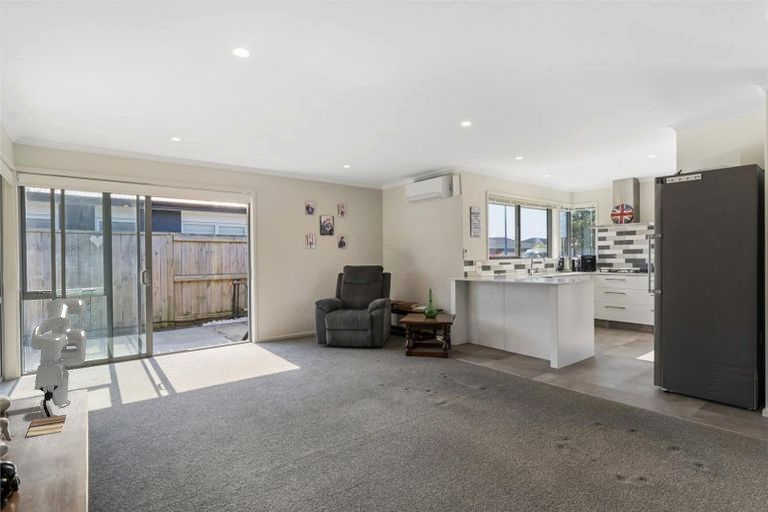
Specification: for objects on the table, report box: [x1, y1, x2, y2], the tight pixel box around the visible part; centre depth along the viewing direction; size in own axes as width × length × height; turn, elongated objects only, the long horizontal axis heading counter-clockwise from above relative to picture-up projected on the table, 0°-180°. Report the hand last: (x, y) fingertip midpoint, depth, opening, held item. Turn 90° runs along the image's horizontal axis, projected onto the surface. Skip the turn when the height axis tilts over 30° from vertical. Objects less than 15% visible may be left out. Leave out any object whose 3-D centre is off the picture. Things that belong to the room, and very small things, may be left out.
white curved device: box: [39, 398, 60, 418], centre depth 207 cm, size 17×5×10 cm, turn 38°
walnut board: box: [29, 414, 67, 429], centre depth 195 cm, size 12×13×2 cm
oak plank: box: [25, 423, 64, 439], centre depth 185 cm, size 11×12×2 cm
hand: (48, 400), depth 188 cm, fingers closed
